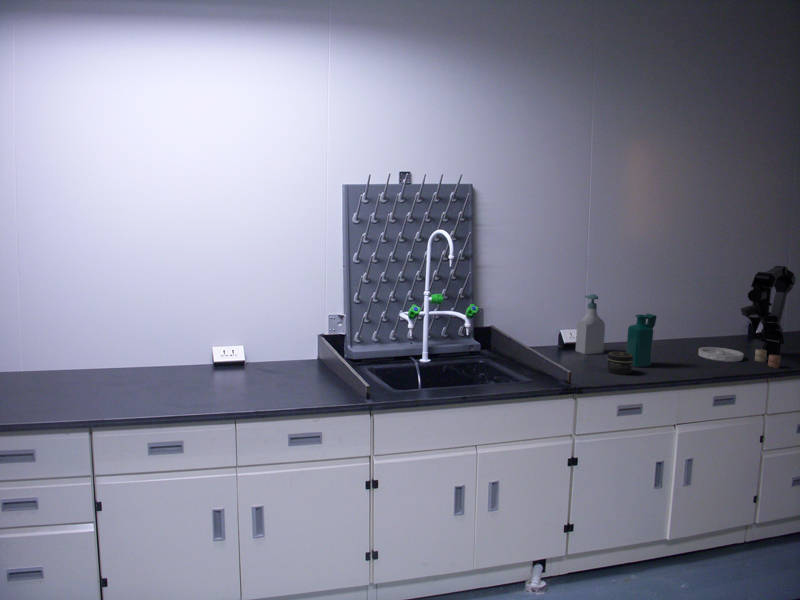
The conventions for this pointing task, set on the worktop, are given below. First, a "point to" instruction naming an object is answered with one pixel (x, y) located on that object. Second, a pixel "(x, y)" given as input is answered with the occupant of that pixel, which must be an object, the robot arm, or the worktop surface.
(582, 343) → the soap bottle
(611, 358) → the jar
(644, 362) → the pitcher
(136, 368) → the worktop surface
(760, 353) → the bead maple
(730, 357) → the tray
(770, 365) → the bead terracotta
